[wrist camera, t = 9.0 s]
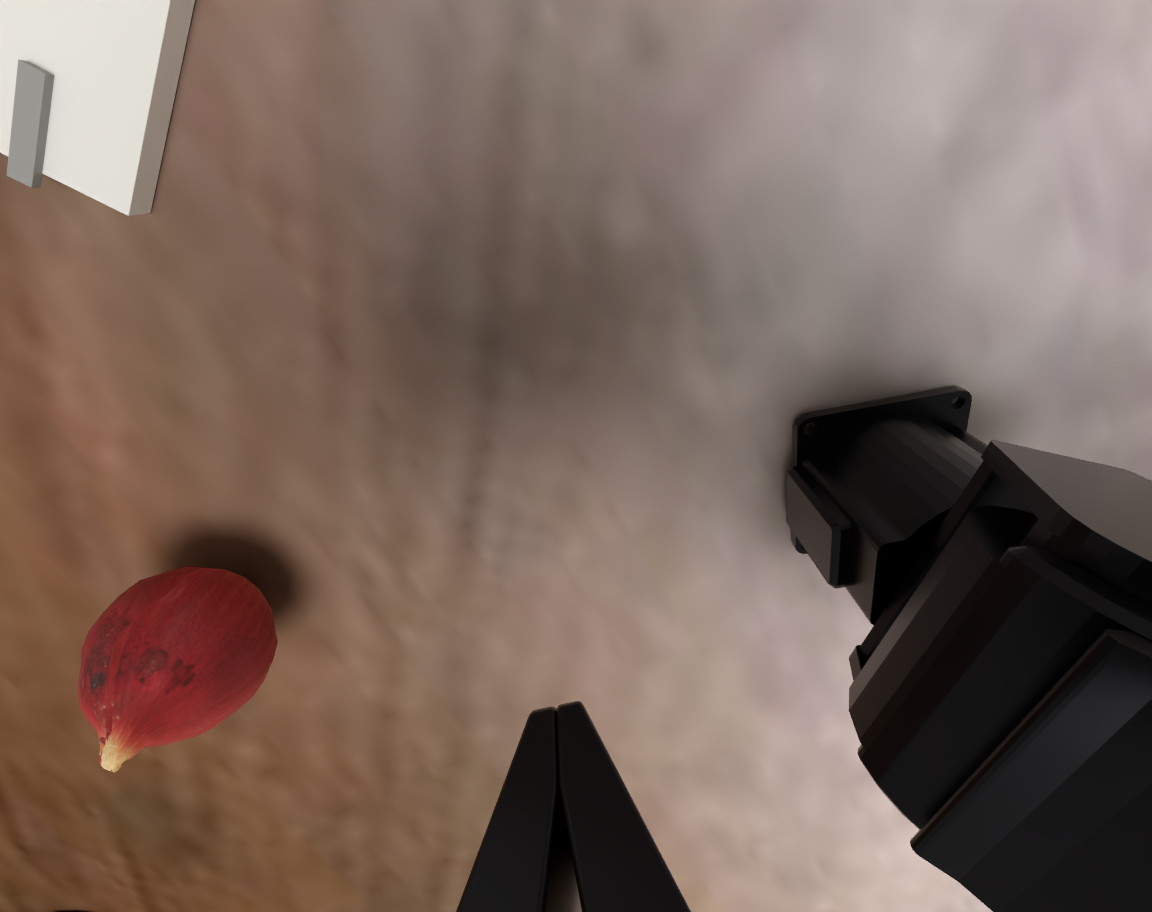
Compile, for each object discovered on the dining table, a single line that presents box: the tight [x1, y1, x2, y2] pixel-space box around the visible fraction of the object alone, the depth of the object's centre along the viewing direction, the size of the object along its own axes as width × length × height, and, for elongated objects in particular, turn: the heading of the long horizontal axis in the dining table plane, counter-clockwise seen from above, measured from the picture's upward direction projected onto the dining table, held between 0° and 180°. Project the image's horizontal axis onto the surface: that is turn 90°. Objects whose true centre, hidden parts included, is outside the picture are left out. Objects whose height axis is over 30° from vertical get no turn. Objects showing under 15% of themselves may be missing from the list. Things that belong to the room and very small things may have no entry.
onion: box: [78, 566, 278, 772], centre depth 20 cm, size 6×6×8 cm
